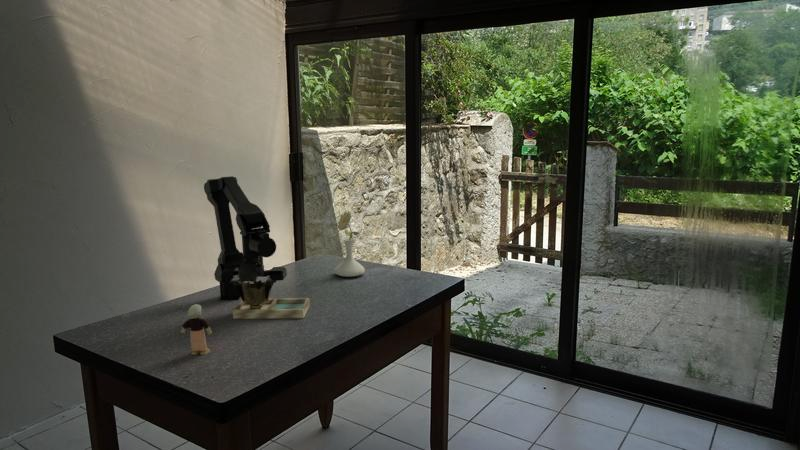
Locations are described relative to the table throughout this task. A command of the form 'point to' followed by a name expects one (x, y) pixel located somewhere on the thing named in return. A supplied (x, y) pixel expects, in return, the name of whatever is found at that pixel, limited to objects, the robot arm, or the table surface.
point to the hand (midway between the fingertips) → (255, 301)
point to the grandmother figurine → (197, 330)
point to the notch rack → (273, 309)
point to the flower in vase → (348, 251)
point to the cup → (254, 294)
